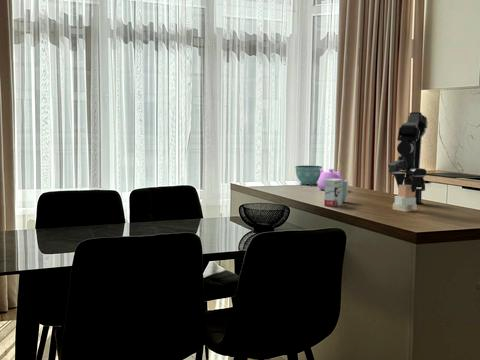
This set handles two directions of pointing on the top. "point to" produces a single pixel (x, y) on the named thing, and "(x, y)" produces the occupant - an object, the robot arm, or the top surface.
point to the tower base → (404, 207)
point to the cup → (344, 190)
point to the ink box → (333, 192)
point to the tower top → (405, 201)
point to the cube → (405, 191)
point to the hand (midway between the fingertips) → (406, 190)
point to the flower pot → (308, 174)
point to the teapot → (327, 177)
